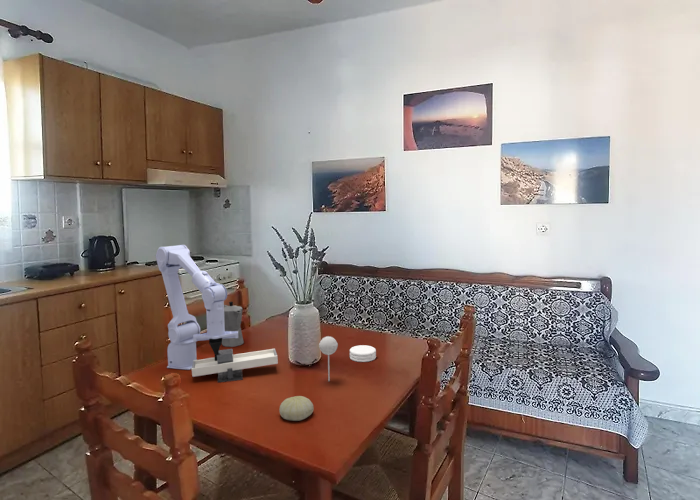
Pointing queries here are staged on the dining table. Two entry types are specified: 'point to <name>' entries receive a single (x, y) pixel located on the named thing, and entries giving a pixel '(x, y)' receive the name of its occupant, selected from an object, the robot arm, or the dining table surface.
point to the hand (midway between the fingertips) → (217, 359)
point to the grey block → (225, 356)
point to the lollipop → (328, 348)
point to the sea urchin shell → (296, 408)
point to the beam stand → (230, 375)
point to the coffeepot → (233, 324)
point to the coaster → (362, 353)
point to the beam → (235, 362)
